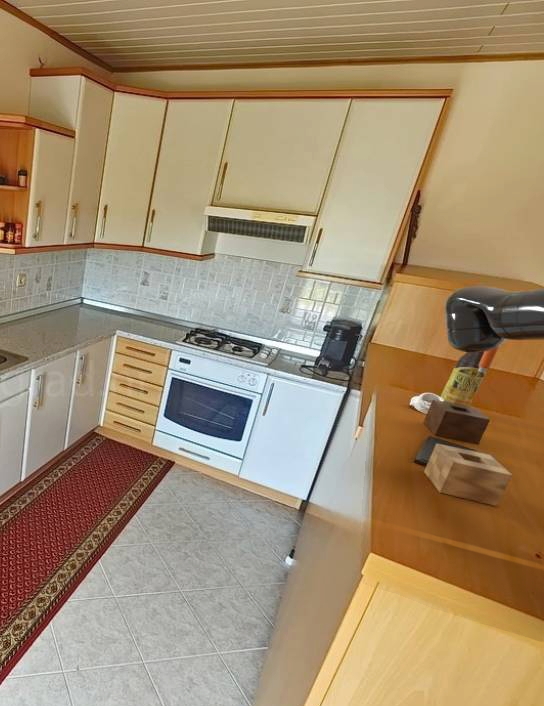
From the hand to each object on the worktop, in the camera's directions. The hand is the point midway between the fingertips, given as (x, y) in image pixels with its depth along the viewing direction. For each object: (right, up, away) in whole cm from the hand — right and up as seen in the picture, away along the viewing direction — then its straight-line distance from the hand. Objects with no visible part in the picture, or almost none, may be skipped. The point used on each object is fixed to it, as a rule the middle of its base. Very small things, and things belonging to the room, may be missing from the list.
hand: (512, 309), depth 99 cm
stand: (-23, -33, -13) cm, 42 cm away
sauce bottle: (+14, -22, +30) cm, 39 cm away
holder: (-2, -26, +12) cm, 29 cm away
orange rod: (-4, -13, +2) cm, 13 cm away
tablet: (-14, -30, -2) cm, 33 cm away
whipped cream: (+3, -22, +25) cm, 34 cm away
